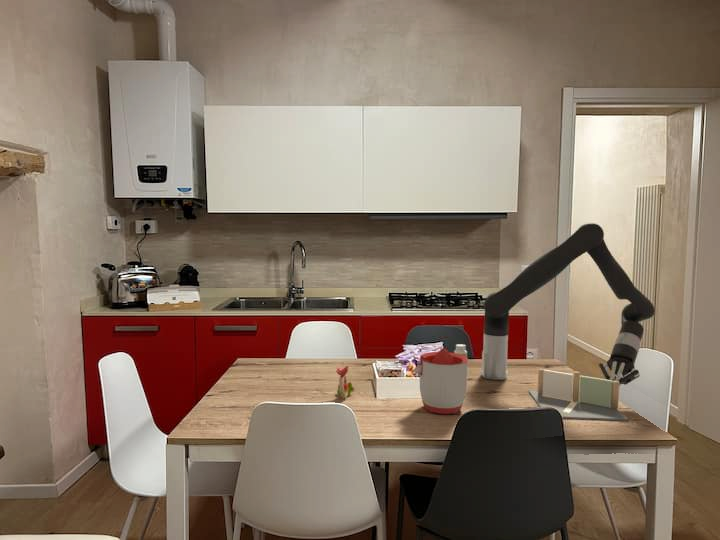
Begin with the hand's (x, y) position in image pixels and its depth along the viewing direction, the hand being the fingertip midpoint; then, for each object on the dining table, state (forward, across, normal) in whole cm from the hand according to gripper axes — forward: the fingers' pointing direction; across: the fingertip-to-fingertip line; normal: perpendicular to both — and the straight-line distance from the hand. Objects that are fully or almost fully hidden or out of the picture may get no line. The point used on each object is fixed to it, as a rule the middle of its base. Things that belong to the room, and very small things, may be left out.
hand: (611, 392), depth 170 cm
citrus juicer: (+32, -40, -24) cm, 57 cm away
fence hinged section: (+5, -3, +2) cm, 6 cm away
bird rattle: (+42, -69, -34) cm, 88 cm away
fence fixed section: (+6, -16, +1) cm, 17 cm away
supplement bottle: (-1, -62, +8) cm, 63 cm away
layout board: (+8, -10, 0) cm, 12 cm away
